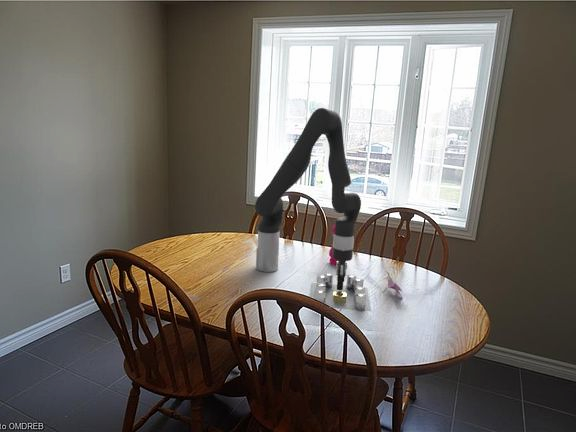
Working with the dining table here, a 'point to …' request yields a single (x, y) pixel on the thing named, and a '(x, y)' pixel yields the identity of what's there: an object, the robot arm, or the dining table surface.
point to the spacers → (351, 284)
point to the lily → (392, 284)
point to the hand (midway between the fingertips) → (339, 289)
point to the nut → (339, 297)
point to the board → (346, 305)
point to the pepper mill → (332, 250)
